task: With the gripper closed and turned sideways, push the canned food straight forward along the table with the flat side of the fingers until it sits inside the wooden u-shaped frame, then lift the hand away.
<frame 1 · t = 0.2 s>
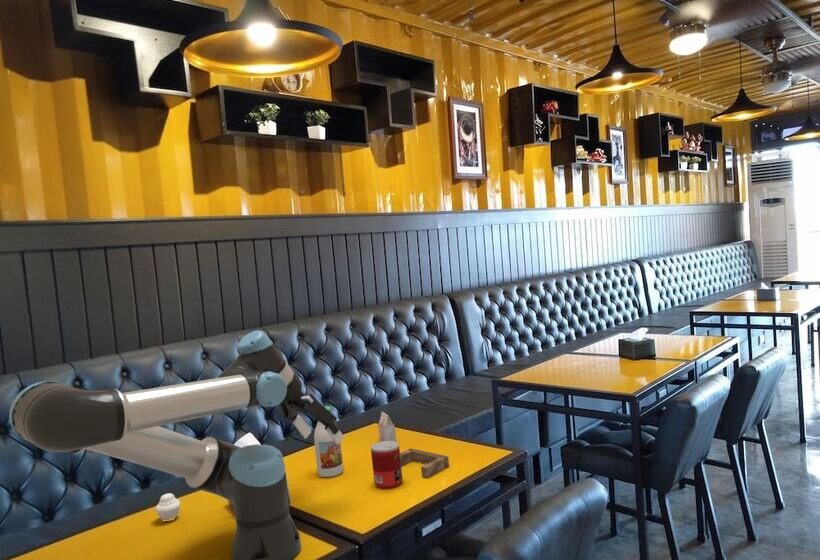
hand: (323, 437, 161), 16 cm above the table, tool tilted 30°, fingers open, 13 cm apart
canned food: (388, 484, 165), on the table
wooden u-shaped frame: (427, 463, 178), on the table
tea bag: (388, 443, 200), on the table
muffin: (169, 520, 156), on the table
milk bottle: (330, 473, 178), on the table
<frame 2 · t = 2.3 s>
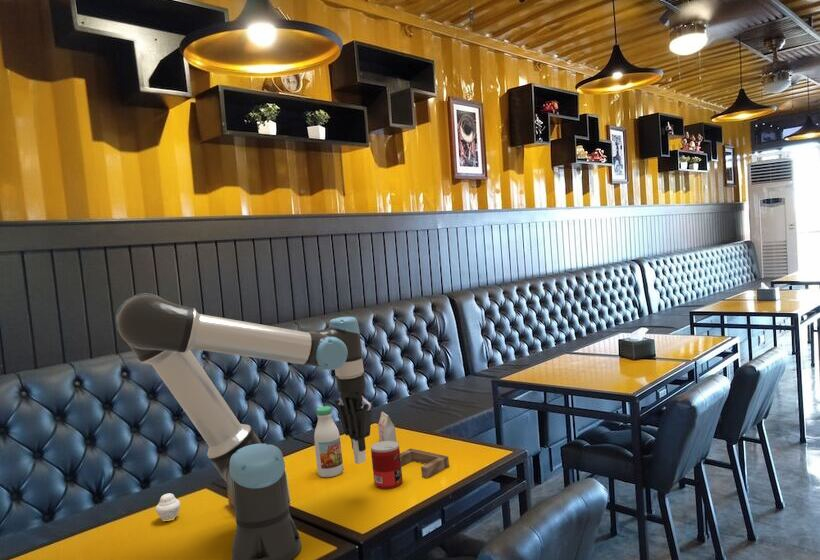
hand: (360, 461, 158), 10 cm above the table, tool pointing down, fingers closed
nothing on the table moved.
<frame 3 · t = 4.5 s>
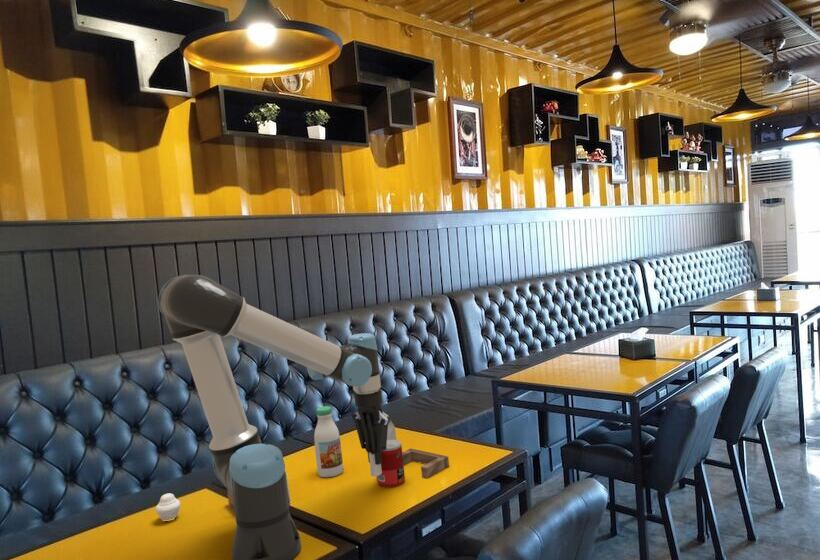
hand: (376, 474, 162), 4 cm above the table, tool pointing down, fingers closed
canned food: (391, 482, 166), on the table, touching gripper
everything else where it was.
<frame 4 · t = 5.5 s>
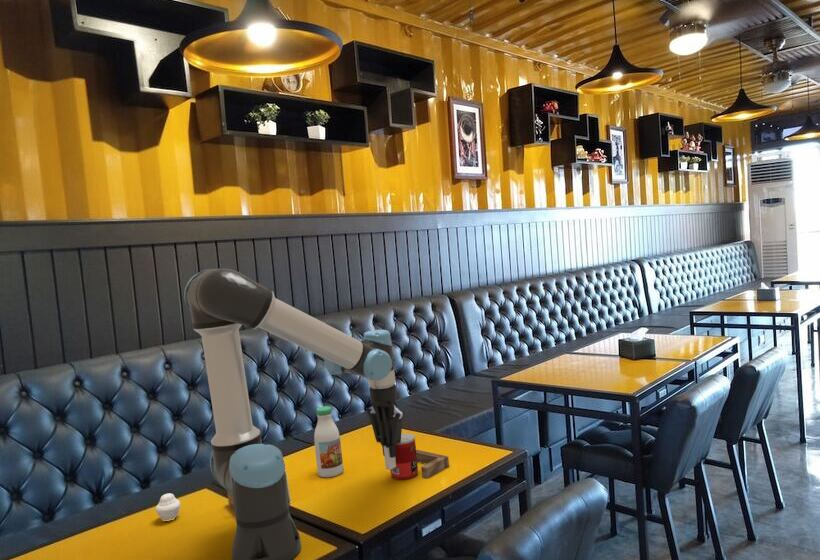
hand: (391, 467, 166), 4 cm above the table, tool pointing down, fingers closed
canned food: (404, 475, 170), on the table, touching gripper
everything else where it was.
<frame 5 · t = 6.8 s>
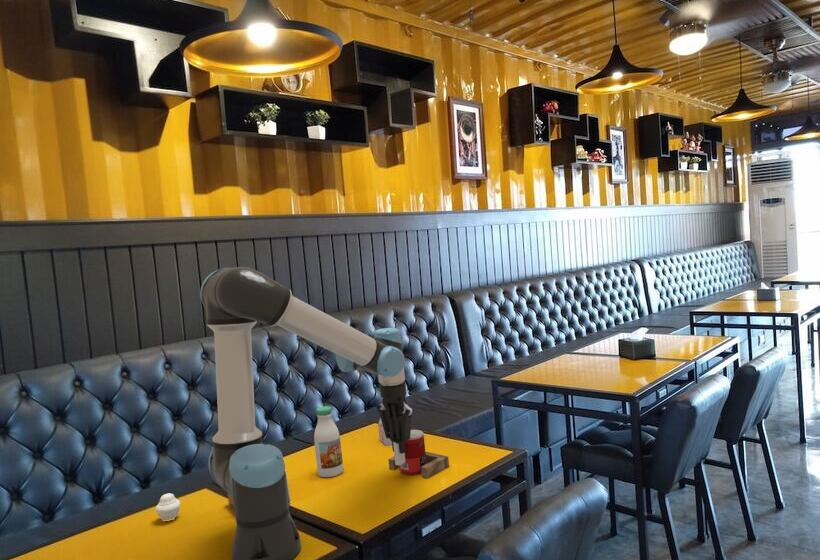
hand: (400, 463, 169), 4 cm above the table, tool pointing down, fingers closed
canned food: (413, 470, 173), on the table, touching gripper
everything else where it was.
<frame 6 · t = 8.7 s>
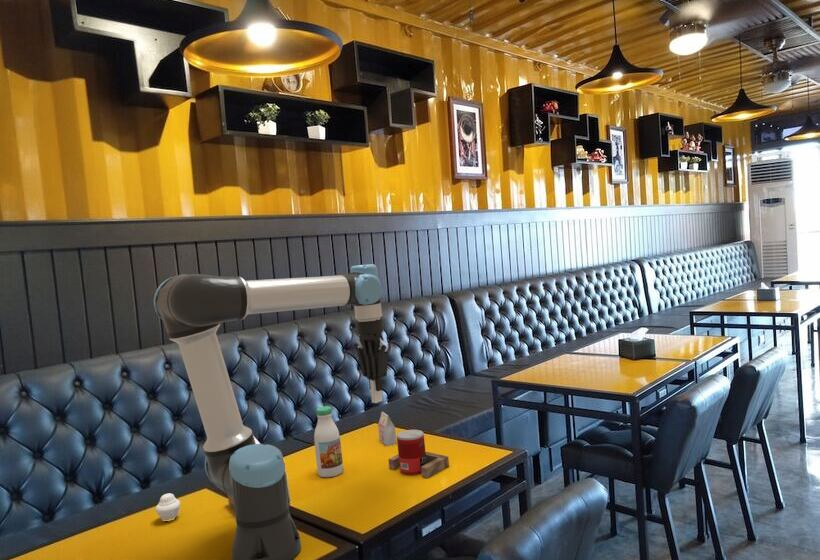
hand: (377, 401, 167), 23 cm above the table, tool pointing down, fingers closed
canned food: (413, 470, 173), on the table
everything else where it was.
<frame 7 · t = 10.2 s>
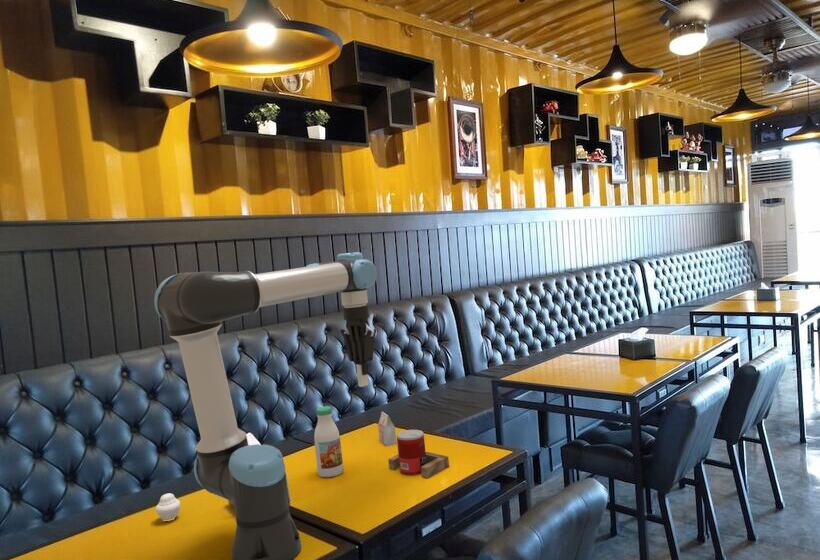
hand: (363, 385, 172), 26 cm above the table, tool pointing down, fingers closed
nothing on the table moved.
at the end: canned food inside the target area (1.6 cm from its centre), on the table; canned food tilted 0°; canned food moved 10.8 cm from its start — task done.
